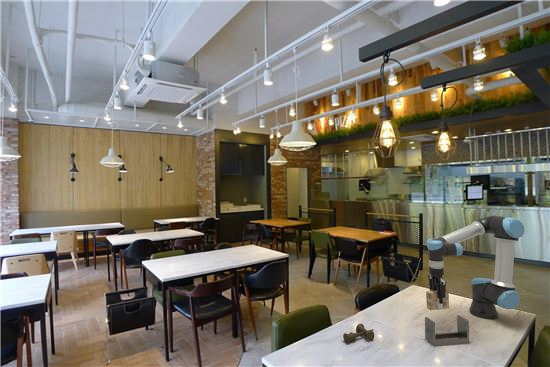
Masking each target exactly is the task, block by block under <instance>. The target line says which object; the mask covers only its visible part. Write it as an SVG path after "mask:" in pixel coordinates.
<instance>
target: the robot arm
mask: <svg viewBox="0 0 550 367" xmlns="http://www.w3.org/2000/svg"><path fill="white" fill-rule="evenodd" d="M525 231H526V230H525V226H524V224H523V222H522V221H521V220H520V219H518V218H514V217H510V216H501V215H489V216H485V217H482V218H480V219H479V218H478V219H476V220H474V221H472V223H471V224H469V225H467V226H464V227H462V228H459V229H457V230H455V231H452V232H450V233H447V234H445V235H442V236H440V237H438V238H429V239H428V240H427V241H426V247H427V249H428V250H427V252H428V266H429V267H428V273H429V274H430V275H428V274H427V279H428V287H429V291H434V290H437V292H438V297H437V304H438V309H439V310H444V309H443V298H446V289H447V288H446V286H447V281H446V280H444V278H443V276H444V273H445V272H444V271H445V269H444V257H459V256H462V255H463V253H464V248H463V246H462V245H461V243H463V242H464V241H467V240H469V239H472V238H474V237H477V236H483V235H487V234H491V235H492V234H493V237H494V238H493V239H495V240H496V247H495V248H496V250H495V263H494V264H495V265H494V276H493V279H492V278H489V277H488V278H487V277H473V278H472V279H471V294H472V295H471V298H472V299H471V300H472V301H471V303H470V306H469V310H468V311H469V313H470V314H471V315H473V316H475V317H477V318H480V319H486V320H496V319H498V318H499V312H498V310H497V308H496V306H497V307H500V308H503V309H505V310H513V309H515V308H516V307H517V306H518V305H519V304H520V301H521V297H520V294H519V293H518V292H517V291H516V286H515V284H513V276H514V275H513V274H514V273H513V272H514V264H515V263H514V259H515V245H516V243H517V242H518V241H519V239H520V238H521V237H523V235H524V234H525Z"/></svg>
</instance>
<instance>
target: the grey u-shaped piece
mask: <svg viewBox="0 0 550 367" xmlns="http://www.w3.org/2000/svg"><path fill="white" fill-rule="evenodd" d="M456 322H457V324H456V326H457V327H456V328H457V330H456V331H449V332H438V333H436V322H434V321H433V320H431V319H430V318H429V317H427V316H426V317H424V332H425V333H424V338H425V340H426V341H427V342H428V343H429V344H430V345H431V346H433V347H439V346H440V347H441V346H452V345H453V346H454V345H466V344H470V320H469V319H467V318H465V317H463V316H462V315H460V314H457V315H456Z"/></svg>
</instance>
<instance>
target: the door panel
mask: <svg viewBox="0 0 550 367" xmlns="http://www.w3.org/2000/svg"><path fill="white" fill-rule="evenodd" d="M425 295H426V309H428V311H436V310H437V311H438V310H440V309H438V304H437V297H438V292H437V290H434V291H430V290H427V291H426V292H425ZM447 309H450V295H449V291H448V289H447V290H446V298H443V309H442V310H447Z"/></svg>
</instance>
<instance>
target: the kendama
mask: <svg viewBox="0 0 550 367" xmlns="http://www.w3.org/2000/svg"><path fill="white" fill-rule="evenodd" d="M362 335H363V336H364V337H365V339H366V341H367V342H372V341H373V340H375V330H374V329H368V330H367V329H366V328H365V325H364V324H363V323H358V324H357V325H356V327H355V332H351V331H350V332H349V333H347V332H344V333H343V340H344V342H345V344H347V343H348V344H349V345H350V342H352V341H353V342H355V341H356V339H358V338H359V337H361V336H362ZM348 344H347V345H348Z"/></svg>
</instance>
